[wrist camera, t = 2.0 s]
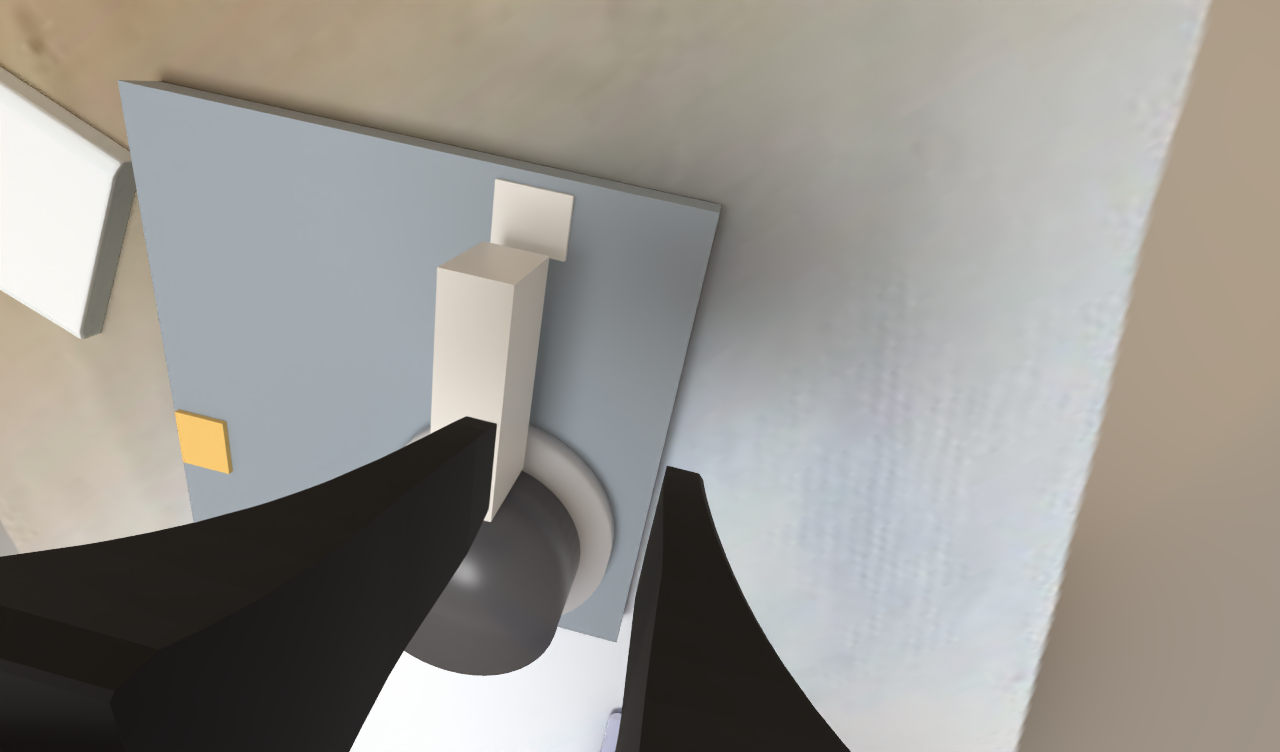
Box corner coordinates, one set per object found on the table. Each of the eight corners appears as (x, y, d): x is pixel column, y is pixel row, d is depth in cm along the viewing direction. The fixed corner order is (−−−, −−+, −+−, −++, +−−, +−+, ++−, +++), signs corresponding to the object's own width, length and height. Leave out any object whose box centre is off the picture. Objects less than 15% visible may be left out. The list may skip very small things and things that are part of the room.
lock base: (721, 204, 19) (718, 219, 17) (622, 615, 27) (611, 662, 25) (159, 81, 20) (86, 80, 18) (221, 509, 28) (176, 545, 26)
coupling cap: (566, 629, 24) (544, 697, 21) (397, 583, 24) (353, 644, 22) (633, 275, 18) (612, 308, 15) (402, 222, 18) (342, 245, 15)
